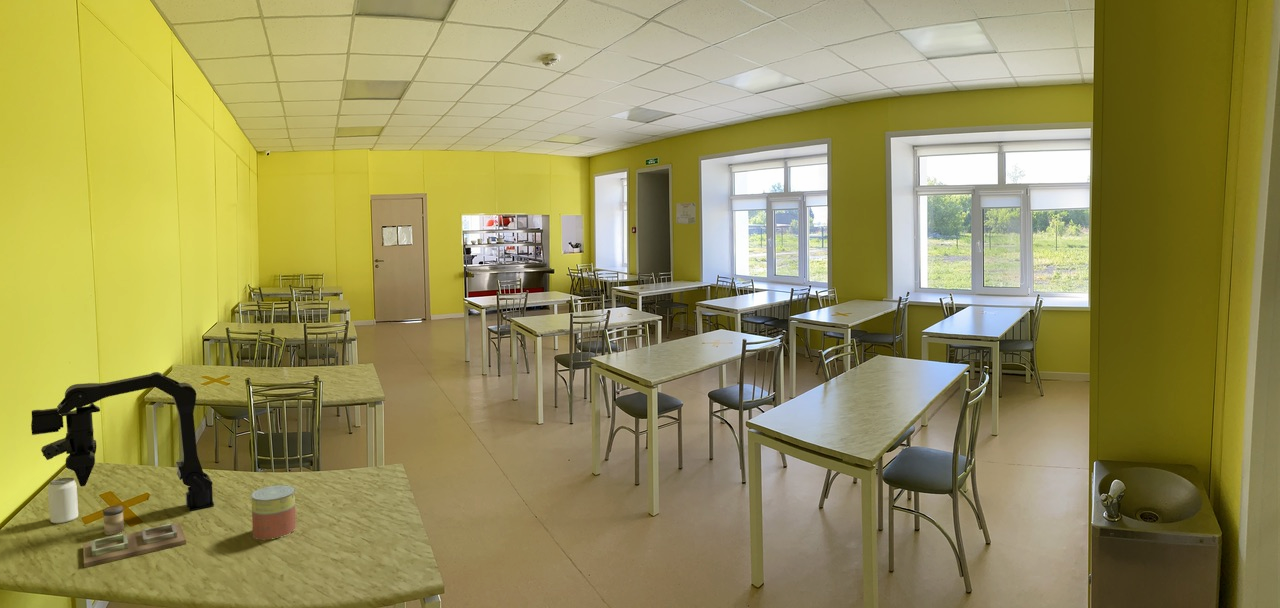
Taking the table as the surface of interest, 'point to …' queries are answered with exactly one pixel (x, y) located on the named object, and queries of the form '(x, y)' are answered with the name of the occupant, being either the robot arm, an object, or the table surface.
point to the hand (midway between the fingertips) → (83, 481)
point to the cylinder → (113, 520)
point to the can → (63, 500)
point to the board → (132, 544)
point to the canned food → (273, 511)
